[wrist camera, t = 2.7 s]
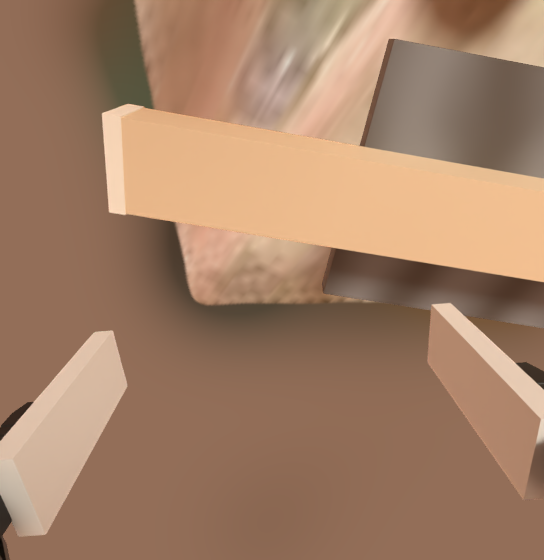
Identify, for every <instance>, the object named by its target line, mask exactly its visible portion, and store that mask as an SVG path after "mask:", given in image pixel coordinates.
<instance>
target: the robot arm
mask: <svg viewBox="0 0 544 560" xmlns="http://www.w3.org/2000/svg"><path fill="white" fill-rule="evenodd" d="M430 319H431V320H430V332H429V346H428V359H427V362H428V364H429V365H430V367H431V368H432V370H433V371H434V373H435V374H436V375H437V377H438V378H439V380H440V381H441V383H442V384H443V385H444V387H445V388H446V390H447V391H448V392H449V394H450V395H451V397H452V398H453V400H454V401H455V403H456V404H457V405H458V407H459V408H460V410H461V411H462V413H463V414H464V416H465V417H466V418H467V420H468V421H469V423H470V424H471V426H472V427H473V428H474V430H475V431H476V433H477V434H478V436H479V437H480V438H481V440H482V441H483V443H484V444H485V445H486V447H487V448H488V450H489V451H490V453H491V454H492V455H493V457H494V459H495V460H496V461H497V463H498V464H499V466H500V467H501V469H502V470H503V471H504V473H505V474H506V476H507V477H508V478H509V480H510V481H511V483H512V484H513V486H514V487H515V489H516V490H517V491H518V493H519V494H520V496H521V497H522V499H523V500H533V499H544V371H542V370H540V369H538V368H536V367H534V366H532V365H530V364H528V363H526V362H524V363H514V362H513V361H512V360H511V359H510V358H509V357H508V356H507V355H506V354H504V352H503V351H502V350H500V349H499V348H498V347H497V346H496V345H495V344H494V343H493V342H492V341H491V340H490V339H489V338H488V337H487V336H485V335H484V334H483V333H482V332H481V331H480V330H479V329H478V328H477V327H476V326H475V325H474V324H473V323H471V322H470V321H469V320H468V319H467V318H466V317H465V316H464V315H463V314H462V313H461V312H460V311H459V310H457V309H456V308H455V307H454V306H453V305H452V304H451V303H444V304H432V305H431V318H430ZM126 388H127V382H126V379H125V375H124V371H123V367H122V364H121V360H120V356H119V353H118V349H117V345H116V341H115V338H114V334H113V331H102V332H94V333H93V334H92V336H91V337H90V338H89V339H88V340H87V341H86V342H85V344H84V345H83V346H82V347H81V348H80V349H79V350H78V352H77V353H76V354H75V355H74V356H73V357H72V359H71V360H70V361H69V362H68V363H67V364H66V366H65V367H64V368H63V369H62V370H61V371H60V373H59V374H58V375H57V376H56V377H55V378H54V379H53V381H52V382H51V383H50V384H49V385H48V387H47V388H46V389H45V390H44V391H43V392H42V394H41V395H40V396H39V397H38V398H37V399H36V400H35V402H28V403H26V404H25V405H23V406H22V407H20V408H19V409H18V410H16V411H15V412H14V413H12V414H11V415H10V416H9V417H8V418H7V420H6V421H5V422H4V423H3V424H2V425H1V428H0V560H10V559H9V554H8V549H7V544H6V542H5V540H4V538H3V536H2V535H3V533H4V532H5V531H6V529H7V528H8V526H9V524H10V523H11V522H12V524H13V526H14V528H15V530H16V532H17V534H18V536H32V535H45V534H46V533H47V531H48V530H49V528H50V526H51V524H52V522H53V520H54V519H55V517H56V515H57V513H58V511H59V509H60V508H61V506H62V504H63V502H64V500H65V499H66V497H67V495H68V493H69V491H70V489H71V487H72V485H73V484H74V482H75V480H76V478H77V477H78V475H79V473H80V471H81V469H82V468H83V466H84V464H85V462H86V460H87V458H88V457H89V454H90V453H91V451H92V449H93V448H94V446H95V444H96V442H97V440H98V439H99V437H100V435H101V433H102V431H103V429H104V427H105V426H106V424H107V422H108V420H109V418H110V416H111V415H112V413H113V411H114V409H115V407H116V406H117V404H118V402H119V400H120V398H121V397H122V395H123V393H124V391H125V389H126Z"/></svg>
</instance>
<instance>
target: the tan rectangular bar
mask: <svg viewBox="0 0 544 560" xmlns="http://www.w3.org/2000/svg"><path fill="white" fill-rule="evenodd" d="M102 123H103V137H104V150H105V164H106V176H107V190H108V205H109V212H110V213H116V214H122V215H126V214H130V215H137V216H143V217H149V218H155V219H161V220H167V221H173V222H179V223H185V224H191V225H198V226H204V227H210V228H216V229H222V230H228V231H234V232H240V233H246V234H253V235H259V236H265V237H271V238H277V239H283V240H289V241H295V242H301V243H308V244H314V245H320V246H326V247H332V248H338V249H344V250H350V251H356V252H363V253H369V254H375V255H381V256H387V257H393V258H399V259H405V260H411V261H418V262H424V263H430V264H436V265H442V266H448V267H454V268H460V269H466V270H473V271H479V272H485V273H491V274H497V275H503V276H509V277H515V278H521V279H528V280H534V281H540V282H544V179H543V178H538V177H532V176H526V175H521V174H515V173H509V172H504V171H498V170H492V169H487V168H481V167H475V166H470V165H464V164H459V163H453V162H447V161H442V160H436V159H430V158H425V157H419V156H413V155H408V154H402V153H396V152H391V151H385V150H379V149H374V148H368V147H363V146H357V145H351V144H346V143H340V142H334V141H329V140H323V139H317V138H312V137H306V136H300V135H295V134H289V133H283V132H278V131H272V130H266V129H261V128H255V127H250V126H244V125H238V124H233V123H227V122H221V121H216V120H210V119H204V118H199V117H193V116H187V115H182V114H176V113H170V112H165V111H159V110H154V109H147V108H144V106H138V105H132V104H126V105H123V106H120V107H118V108H115V109H112V110H110V111H107V112H104V113H102Z"/></svg>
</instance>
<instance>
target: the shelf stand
mask: <svg viewBox="0 0 544 560" xmlns="http://www.w3.org/2000/svg"><path fill="white" fill-rule="evenodd" d="M360 146H363V147H368V148H374V149H379V150H385V151H391V152H396V153H402V154H408V155H413V156H419V157H425V158H430V159H436V160H442V161H447V162H453V163H459V164H464V165H470V166H475V167H481V168H487V169H492V170H498V171H504V172H509V173H515V174H521V175H526V176H532V177H538V178H543V179H544V67H539V66H533V65H528V64H523V63H518V62H513V61H507V60H502V59H497V58H492V57H486V56H481V55H476V54H471V53H466V52H460V51H455V50H450V49H445V48H439V47H434V46H429V45H424V44H419V43H413V42H408V41H403V40H398V39H389V41H388V44H387V48H386V52H385V55H384V59H383V63H382V66H381V70H380V74H379V77H378V81H377V85H376V88H375V92H374V96H373V99H372V103H371V107H370V110H369V114H368V117H367V121H366V125H365V128H364V132H363V136H362V139H361V143H360ZM322 286H323V293H324V294H331V295H337V296H343V297H350V298H356V299H362V300H369V301H375V302H381V303H388V304H394V305H400V306H407V307H414V308H420V309H426V310H431V305H432V304H444V303H451V304H452V305H453V306H454V307H455V308H456V309H457V310H459V311H460V312H461V313H462V314H463V315H464V316H471V317H477V318H483V319H490V320H496V321H502V322H508V323H515V324H522V325H527V326H534V327H540V328H544V282H540V281H534V280H528V279H521V278H515V277H509V276H503V275H497V274H491V273H485V272H479V271H473V270H466V269H460V268H454V267H448V266H442V265H436V264H430V263H424V262H418V261H411V260H405V259H399V258H393V257H387V256H381V255H375V254H369V253H363V252H356V251H350V250H344V249H338V248H332V249H331V253H330V257H329V260H328V264H327V268H326V271H325V275H324V278H323V282H322Z"/></svg>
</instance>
